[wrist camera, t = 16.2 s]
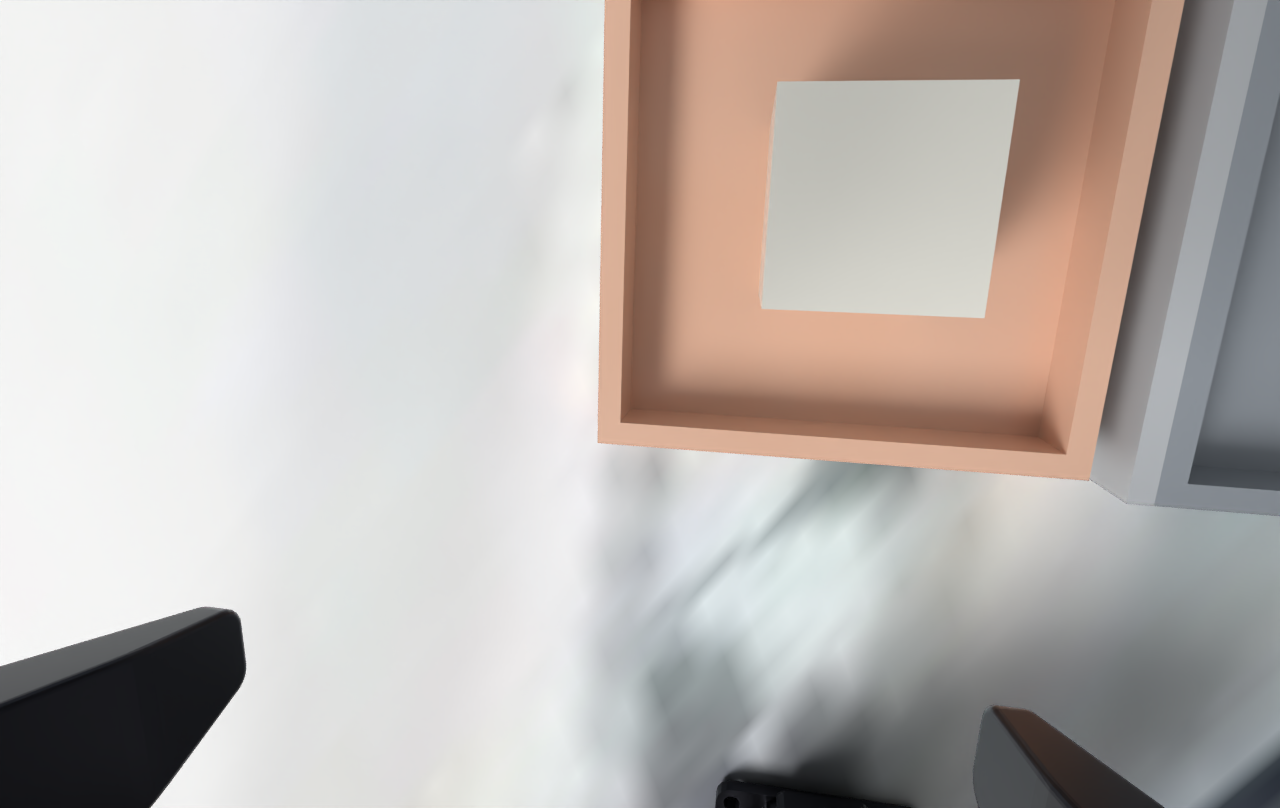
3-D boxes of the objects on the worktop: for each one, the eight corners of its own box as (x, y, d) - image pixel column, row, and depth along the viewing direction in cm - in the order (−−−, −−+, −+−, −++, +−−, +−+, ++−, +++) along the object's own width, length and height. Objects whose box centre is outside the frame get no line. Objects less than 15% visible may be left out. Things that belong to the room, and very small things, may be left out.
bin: (1048, 453, 18) (1089, 480, 16) (614, 422, 20) (597, 442, 18) (1140, -48, 15) (1203, -97, 13) (623, -32, 17) (605, -72, 15)
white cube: (924, 301, 17) (984, 318, 13) (758, 294, 18) (761, 309, 13) (946, 125, 16) (1019, 79, 12) (770, 125, 17) (777, 81, 12)
